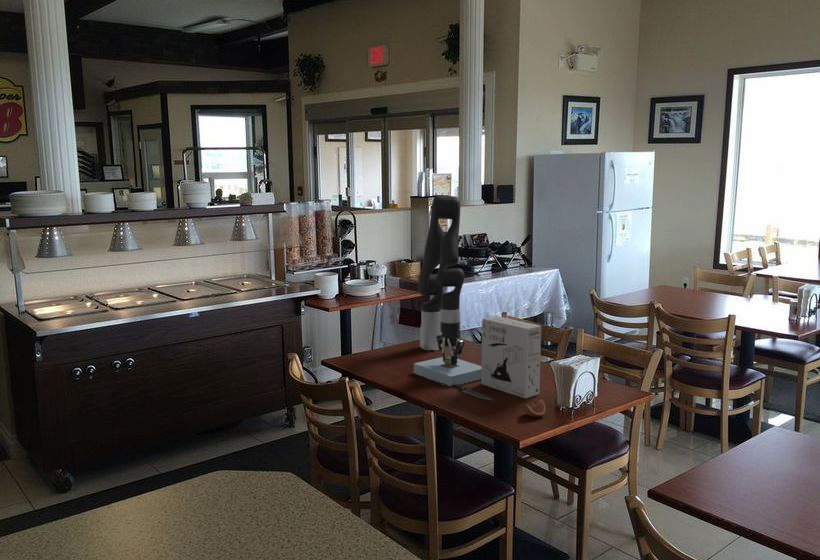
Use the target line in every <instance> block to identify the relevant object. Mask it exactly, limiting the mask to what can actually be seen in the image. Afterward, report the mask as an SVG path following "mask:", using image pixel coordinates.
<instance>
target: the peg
mask: <svg viewBox="0 0 820 560" xmlns="http://www.w3.org/2000/svg"><path fill="white" fill-rule="evenodd" d="M454 347H455V346H453V348H454ZM454 352H455V349H454ZM451 356H452V355H451V350H450V349H449V346H445V365H446V368H454V365H451Z"/></svg>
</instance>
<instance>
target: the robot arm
mask: <svg viewBox="0 0 820 560" xmlns="http://www.w3.org/2000/svg"><path fill="white" fill-rule="evenodd" d="M459 198H460V197H458V196H455V195H454V196H453V195H439V194H437V195H435V196H434V197H433V199H432V203H431V209H430V211H431V212H430V220H429V227H428V233H427V238H426V241H425V242H426V243H425V247H424V255H423V262H422V265H421V269H420V273H419V277H418V279H417V280H418V281H417V291H418V294H419V295H421V296H424V297H425V296H432V298H431V299H429V300H428V301H424V302H423V303H422V304H421V306H420V307H421V309H420V312H421V314H420V315H421V323H420V327H419V347H420V348H421V349H422V350H424V351H430V350H434V351H440V352H441V353H442V357H443V362H444V363H445V346H449V349H450V350H451V355H452V356H451V365H456V364H457V359H458V356H460V355H462V352H463V348H464V344H465V341H464V340H461V339H460V337H459V334H460V333H461V332H460V331H461V309H460V302H461V301H460V300H461V299H460V297H461V293H462V289H463V285H464V282H465V272H464V270H463V269H462V268H459V267H455V268H452V267H453V266H456V265H457V264H458V263H459V262H460V261H459V259H460V257H459V255H460V254H459V233H460V220H461V201H460V199H459ZM442 219H443V220H451V224H450V226H449V228H448V230H447V231H446V233H445V232H444V231H443V229H442V227H441V224H440V222H439V220H442ZM437 267H438V270H437V273H433V271H434V270H435V269H436V268H437ZM451 287H454V289H452V290H451V291H448V292H444V288H451ZM453 346H455V347H454V348H453ZM454 349H455V352H454Z"/></svg>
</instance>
